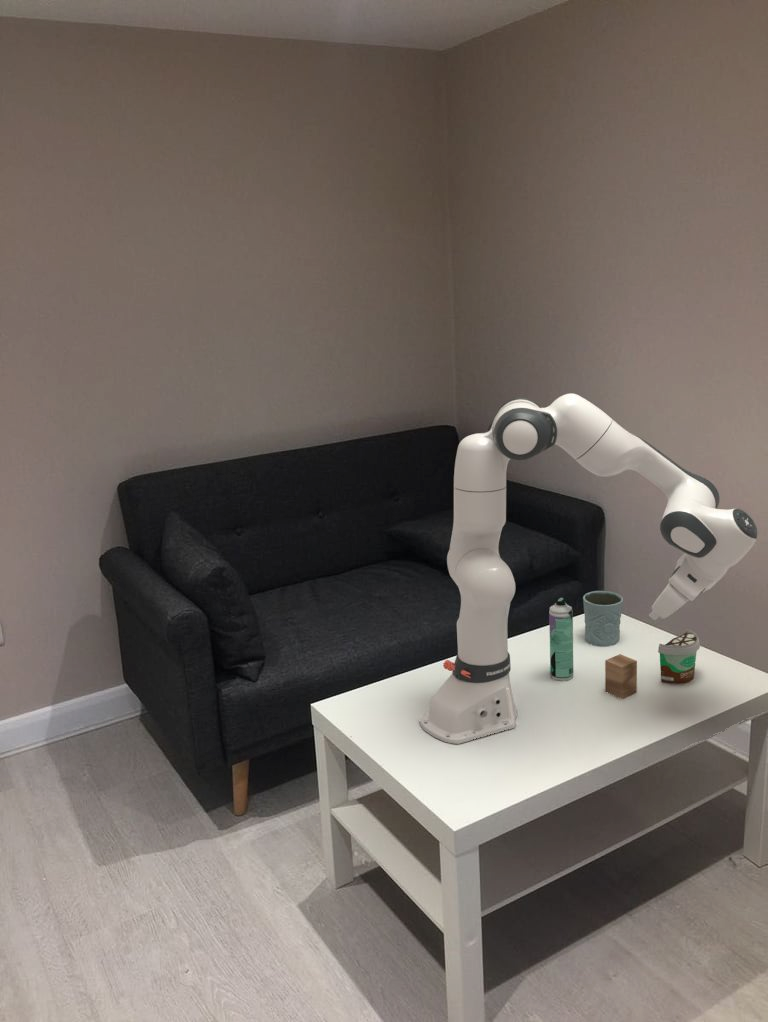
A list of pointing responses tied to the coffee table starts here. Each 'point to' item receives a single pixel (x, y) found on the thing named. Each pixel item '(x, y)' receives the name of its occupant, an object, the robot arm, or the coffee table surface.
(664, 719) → the coffee table surface
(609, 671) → the walnut block
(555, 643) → the spray can
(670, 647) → the ice cream tub
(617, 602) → the plant pot
